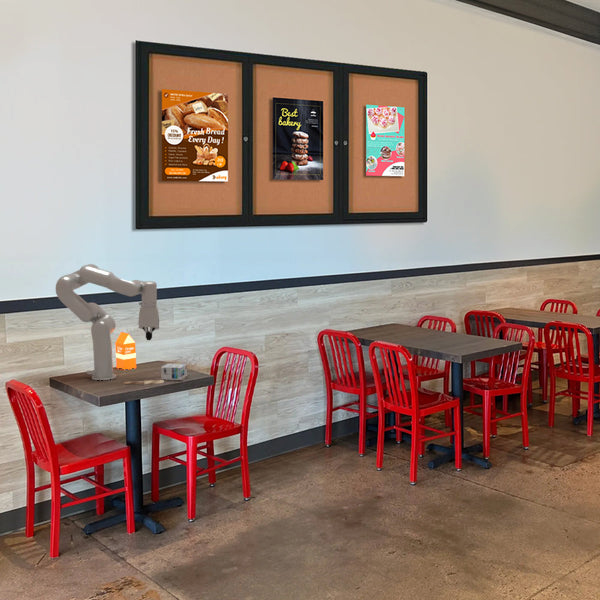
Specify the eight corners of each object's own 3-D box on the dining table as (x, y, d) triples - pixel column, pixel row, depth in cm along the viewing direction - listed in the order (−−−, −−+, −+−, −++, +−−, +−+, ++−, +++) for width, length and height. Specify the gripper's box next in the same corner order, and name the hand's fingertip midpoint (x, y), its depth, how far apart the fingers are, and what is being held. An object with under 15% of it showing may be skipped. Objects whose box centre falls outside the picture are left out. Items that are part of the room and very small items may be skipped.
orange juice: (124, 370, 417) (122, 334, 415) (116, 367, 424) (114, 332, 421) (136, 368, 423) (135, 332, 420) (128, 365, 429) (127, 330, 427)
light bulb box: (160, 379, 391) (180, 380, 390) (160, 366, 391) (180, 367, 389) (168, 375, 402) (187, 376, 400) (167, 362, 401) (187, 363, 399)
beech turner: (123, 385, 381) (123, 383, 381) (123, 382, 387) (123, 381, 387) (163, 383, 386) (163, 381, 385) (163, 380, 391) (163, 379, 391)
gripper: (133, 305, 389) (132, 340, 392) (161, 306, 389) (161, 341, 391) (136, 303, 397) (136, 338, 399) (165, 304, 396) (164, 339, 398)
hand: (148, 339), depth 395 cm, fingers closed
